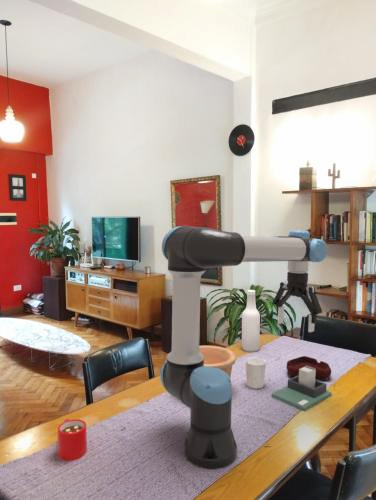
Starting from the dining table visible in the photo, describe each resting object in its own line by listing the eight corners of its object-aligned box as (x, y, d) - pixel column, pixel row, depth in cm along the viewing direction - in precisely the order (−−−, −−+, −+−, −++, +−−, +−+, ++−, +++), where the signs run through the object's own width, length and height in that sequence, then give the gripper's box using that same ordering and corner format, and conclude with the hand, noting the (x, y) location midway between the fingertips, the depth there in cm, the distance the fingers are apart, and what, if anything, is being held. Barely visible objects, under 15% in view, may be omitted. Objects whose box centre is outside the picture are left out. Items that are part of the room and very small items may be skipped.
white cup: (264, 381, 161) (264, 357, 160) (266, 390, 153) (266, 365, 152) (244, 380, 162) (245, 356, 161) (245, 389, 154) (246, 364, 153)
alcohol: (249, 345, 204) (250, 288, 201) (262, 349, 198) (264, 290, 195) (238, 348, 199) (238, 290, 196) (251, 353, 192) (252, 293, 189)
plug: (307, 393, 148) (308, 371, 147) (298, 389, 151) (299, 368, 150) (314, 389, 151) (315, 368, 150) (305, 385, 154) (306, 365, 153)
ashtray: (325, 367, 176) (325, 356, 175) (332, 383, 160) (333, 371, 159) (284, 365, 179) (284, 354, 178) (287, 380, 162) (288, 368, 162)
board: (304, 411, 137) (304, 399, 137) (271, 396, 148) (272, 385, 147) (331, 395, 149) (331, 384, 148) (299, 383, 159) (299, 373, 159)
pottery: (172, 400, 145) (172, 363, 143) (186, 376, 166) (186, 343, 164) (231, 407, 139) (231, 368, 138) (238, 381, 161) (238, 347, 159)
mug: (76, 434, 123) (76, 410, 122) (90, 454, 113) (90, 428, 112) (51, 443, 118) (50, 418, 118) (63, 464, 108) (62, 437, 108)
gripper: (333, 275, 140) (330, 333, 142) (276, 267, 159) (274, 318, 161) (322, 276, 135) (319, 337, 137) (264, 268, 154) (263, 321, 156)
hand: (295, 327), depth 149 cm, fingers open, 13 cm apart
